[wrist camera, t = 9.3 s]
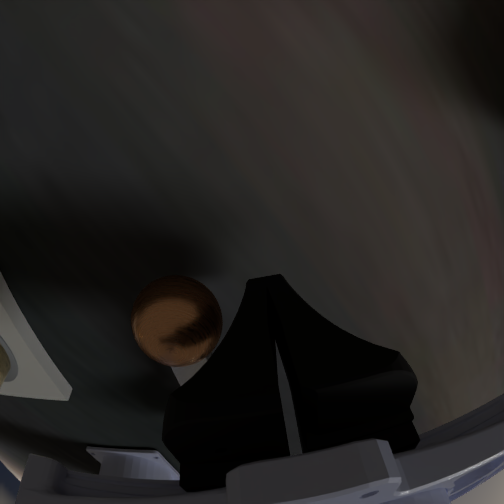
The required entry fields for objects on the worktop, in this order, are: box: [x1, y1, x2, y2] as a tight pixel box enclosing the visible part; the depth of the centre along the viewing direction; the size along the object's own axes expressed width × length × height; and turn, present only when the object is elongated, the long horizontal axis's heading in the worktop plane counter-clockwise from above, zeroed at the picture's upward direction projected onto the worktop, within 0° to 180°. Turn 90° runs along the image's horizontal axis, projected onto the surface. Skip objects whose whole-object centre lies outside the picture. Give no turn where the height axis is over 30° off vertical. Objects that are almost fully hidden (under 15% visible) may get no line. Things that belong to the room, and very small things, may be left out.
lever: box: [131, 275, 223, 386], centre depth 13 cm, size 10×4×4 cm, turn 9°
